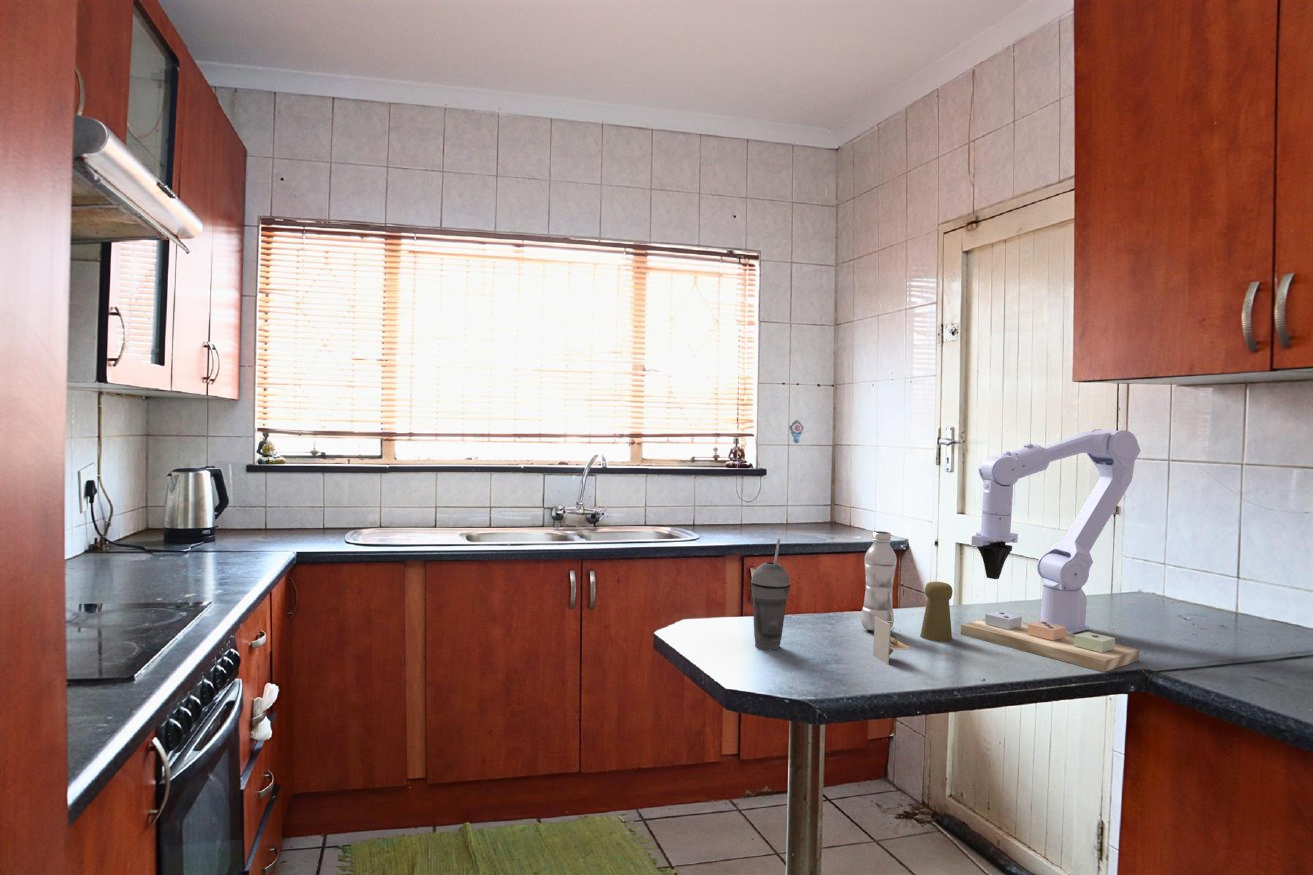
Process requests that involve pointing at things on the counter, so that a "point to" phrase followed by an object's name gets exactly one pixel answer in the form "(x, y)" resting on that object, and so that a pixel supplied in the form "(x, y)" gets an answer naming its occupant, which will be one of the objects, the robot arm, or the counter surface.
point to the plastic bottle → (879, 580)
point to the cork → (937, 612)
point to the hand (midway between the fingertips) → (992, 578)
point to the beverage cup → (769, 603)
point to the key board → (1052, 646)
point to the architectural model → (885, 641)
